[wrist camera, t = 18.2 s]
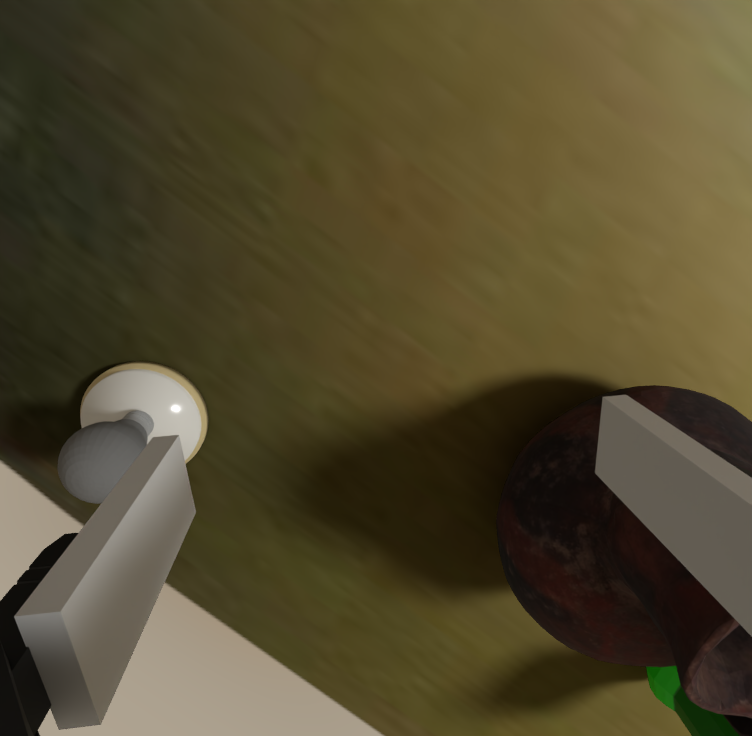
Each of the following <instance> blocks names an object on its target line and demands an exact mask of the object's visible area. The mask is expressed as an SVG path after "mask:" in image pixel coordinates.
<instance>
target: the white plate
mask: <svg viewBox="0 0 752 736" xmlns="http://www.w3.org/2000/svg"><path fill="white" fill-rule="evenodd" d="M135 410H139V411H143V412H146V413H147V414H149V415H150V416H151V418H152V419H153V422H154V428H153V431H152V432H151V433H150V435H149V436H148V440H147V444H148V443H149V442H150V440H151V439H152V438H153V437H160V436H171V435H179V437H180V442H181V446H182V451H183V455H184V460H185V464H186V463H187V462H188V461H190V460H191V459H192V458H193V457H194V456H195V454H196V453H197V452H198V450H199V449H200V447H201V445H202V443H203V441H204V440H205V437H206V434H207V431H208V424H209V417H208V410H207V407H206V404H205V401H204V399H203V397H202V395H201V393H200V392H199V390H198V389H197V388H196V386H195V385H194V384H193V383H192V382H191V381H190V380H189V379H188V378H187V377H185V376H184V375H183V374H181V373H180V372H178V371H176V370H175V369H173V368H170V367H168V366H166V365H163V364H160V363H155V362H150V361H132V362H126V363H122V364H119V365H116V366H114V367H112V368H110V369H108V370H107V371H105V372H104V373H102V374H101V375H100V376H99V377H97V378H96V379H95V380H94V381H93V382H92V383H91V384H90V385H89V387H88V389H87V390H86V392H85V394H84V396H83V399H82V403H81V409H80V418H81V427H82V428H84V427H85V426H88V425H91V424H94V423H97V422H103V421H112V422H115V421H117V420H121V419H122V418H123V417H124V416H125V415H126V414H127V413H129V412H131V411H135Z"/></svg>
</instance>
